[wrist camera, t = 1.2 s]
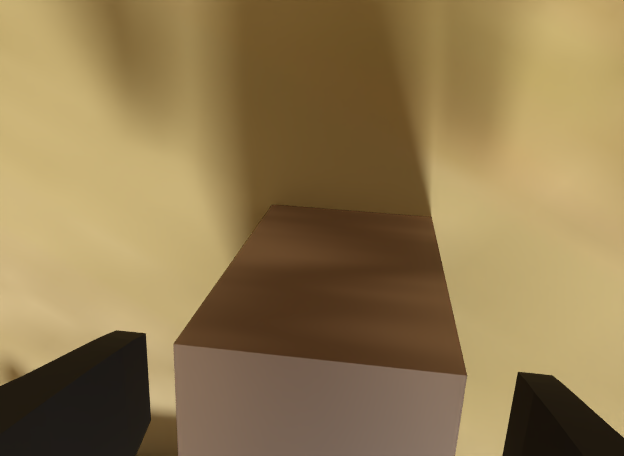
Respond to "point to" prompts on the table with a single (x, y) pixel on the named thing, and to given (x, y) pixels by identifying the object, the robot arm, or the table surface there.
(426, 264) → the walnut finger
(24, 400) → the robot arm
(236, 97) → the table surface
